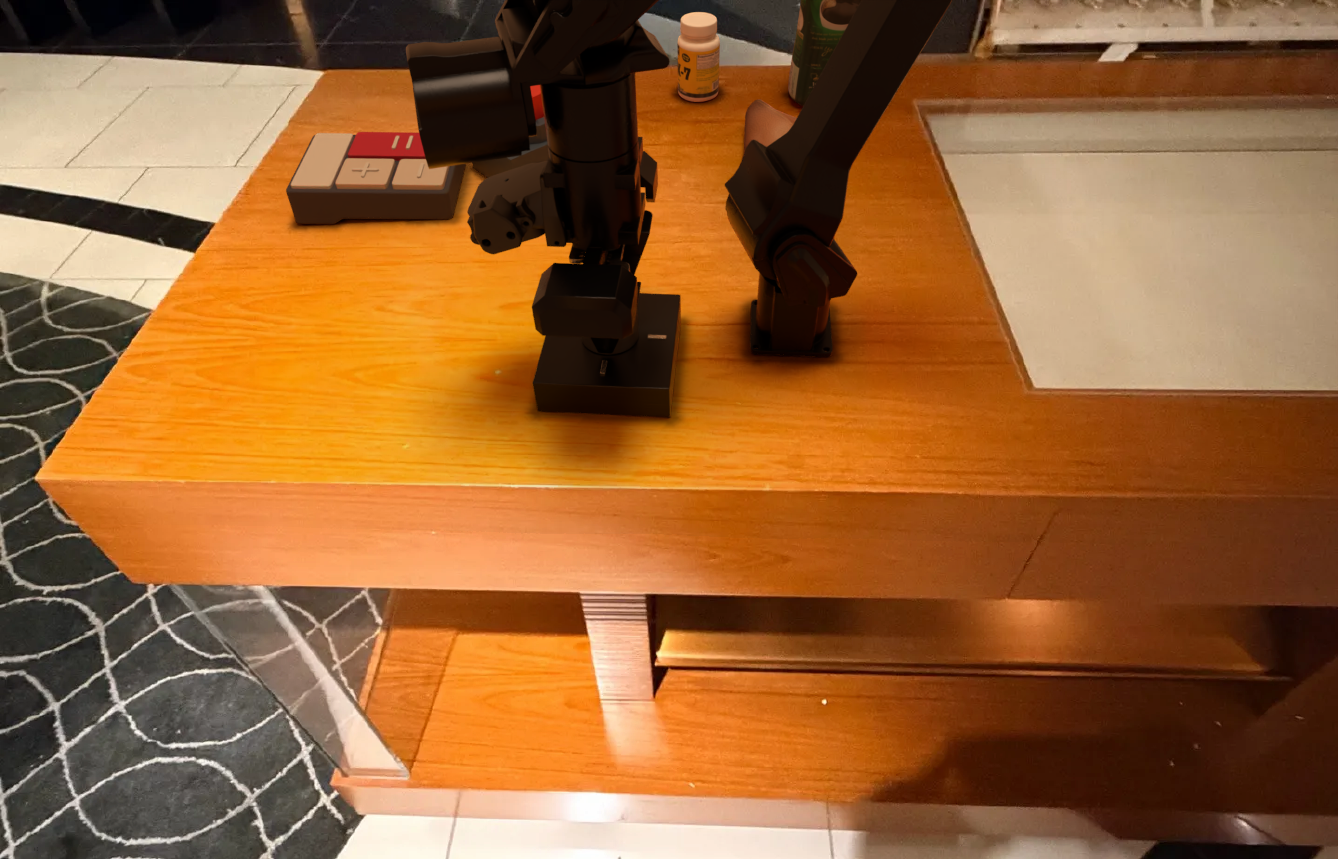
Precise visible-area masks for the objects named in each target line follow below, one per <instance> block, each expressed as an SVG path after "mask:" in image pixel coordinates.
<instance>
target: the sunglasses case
mask: <svg viewBox="0 0 1338 859" xmlns="http://www.w3.org/2000/svg"><path fill="white" fill-rule="evenodd" d="M796 119H797V117H796V116H793V115H791V114H789V113H785V112H783V111H781V110H778V109H776V108H774V107H773V106H771V105H770V104H769V103H767V102H765V101H764V100H762V99H761V98H760V99H755V100H754V101H752V102H751V103H750V104H749V106H748V107H747V109H746V111H745V116H744V134H743V135H744V136H743V137H744V138H743V153H744V152H745V149H746V147H747V145H748V144H749V143H750V141H751V140H756V141H758V142H760V143H761V144H763V145H764V146H766V147H767V146H769V145H770V144H771V143H773V142H774V141H776V140H777V139H779V138H780V137H781V136H783V135H784V134H786V133H787V132H788V131H789V130H790V128H791V127H792V126H793V124H794V122H795V121H796Z"/></svg>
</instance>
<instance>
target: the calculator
mask: <svg viewBox="0 0 1338 859" xmlns="http://www.w3.org/2000/svg"><path fill="white" fill-rule="evenodd" d="M466 165H467V164H460V165H454V166H447V167H440V168H433V169H429V167H428V165H427V161H426V158H425V154H424V150H423V146H422V142H421V138H420V134H419V132H408V131H407V132H405V131H404V132H403V131H401V132H400V131H395V132H394V131H358V132H356V134H353V133H349V132H347V133H345V132H343V133H341V132H317V133H316V134H314V135H313V136H312V137H311V139H310V141H309V143H308V146H307V147H306V150H305V151H304V153H303V155H302V157H301V159H300V161H299V163H298V165H297V167H296V168H295V171H294V173H293V175H292V176H291V179H290V181H289V183H288V184H287V187H286V189H285V193H286V196H287V199H288V202H289V205H290V208H291V211H292V214H293V217H294V220H295V222H296V223H297V224H300V225H301V224H303V225H304V224H307V225H308V224H309V225H336V224H337V223H338V222H340V221H342V220H344V219H345V220H346V219H347V220H348V219H349V220H351V219H352V220H353V219H354V220H356V219H357V220H358V219H359V220H360V219H361V220H362V219H363V220H366V219H367V220H451V219H453V217H454V213H455V210H456V206H457V203H458V198H459V193H460V190H461V186H462V182H463V178H464V173H465V169H466Z"/></svg>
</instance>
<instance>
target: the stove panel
mask: <svg viewBox="0 0 1338 859" xmlns="http://www.w3.org/2000/svg"><path fill="white" fill-rule="evenodd" d="M681 299H682V298H681V294H680V293H679V294H678V293H677V294H674V293H651V292H649V293H648V292H646V293H645V292H640V294H639V300H638V305H637V310H638V327H639V337H638V340H637V342H636V343H635V344H634V346H632V347H631V348H630V349H628V350H626V351H624V352H622V353H618V354H611V355H605V354H599V353H595V352H593V351H591V350H589V349H588V348H587V347H586V346H585V345H584V344H583V342H582V339H581V337H564V336H544V339H543V343H542V346H541V347H542V348H541V350H540V354H539V358H538V361H537V365H536V369H535V373H534V375H533V379H532V389H533V394H534V398H535V404H536V411H537V412H541V413H542V412H543V413H563V414H565V413H566V414H582V415H583V414H584V415H585V414H586V415H607V416H627V417H650V418H671V413H672V406H673V394H674V387H675V377H676V370H677V361H678V352H679V342H680V335H681V325H682V313H681V312H682V310H681V309H682V308H681V307H682V306H681V305H682V304H681V302H682V301H681Z"/></svg>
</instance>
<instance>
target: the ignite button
mask: <svg viewBox="0 0 1338 859" xmlns="http://www.w3.org/2000/svg"><path fill="white" fill-rule="evenodd" d="M530 88H531V95H532V101H533V107H534V113H535V120H537V119H540V118H542V117H544V113H543V105H542V98H541V90H540V85H535V86H530Z"/></svg>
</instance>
